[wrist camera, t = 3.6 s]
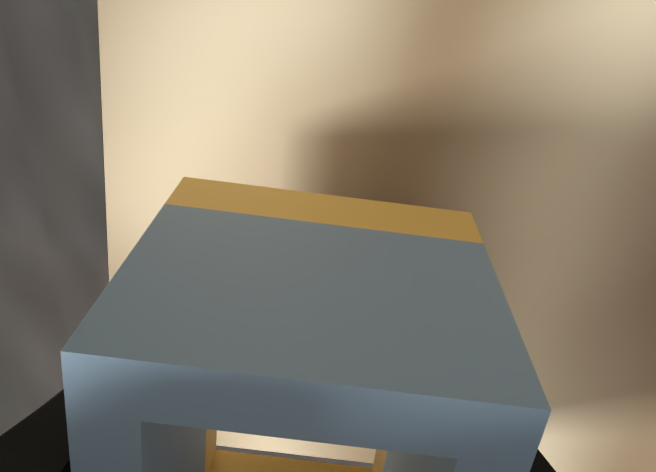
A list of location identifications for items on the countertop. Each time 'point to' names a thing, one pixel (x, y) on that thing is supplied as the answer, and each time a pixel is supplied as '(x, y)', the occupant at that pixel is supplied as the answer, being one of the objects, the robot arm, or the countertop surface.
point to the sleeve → (301, 340)
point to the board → (426, 161)
